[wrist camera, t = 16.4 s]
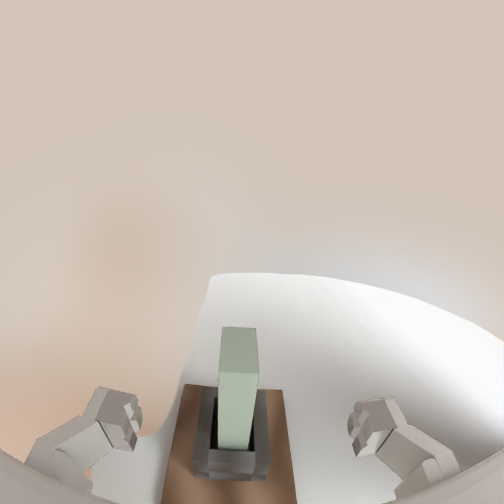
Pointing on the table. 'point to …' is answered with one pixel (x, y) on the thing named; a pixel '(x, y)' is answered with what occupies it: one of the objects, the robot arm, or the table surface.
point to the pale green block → (237, 387)
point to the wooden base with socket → (229, 454)
